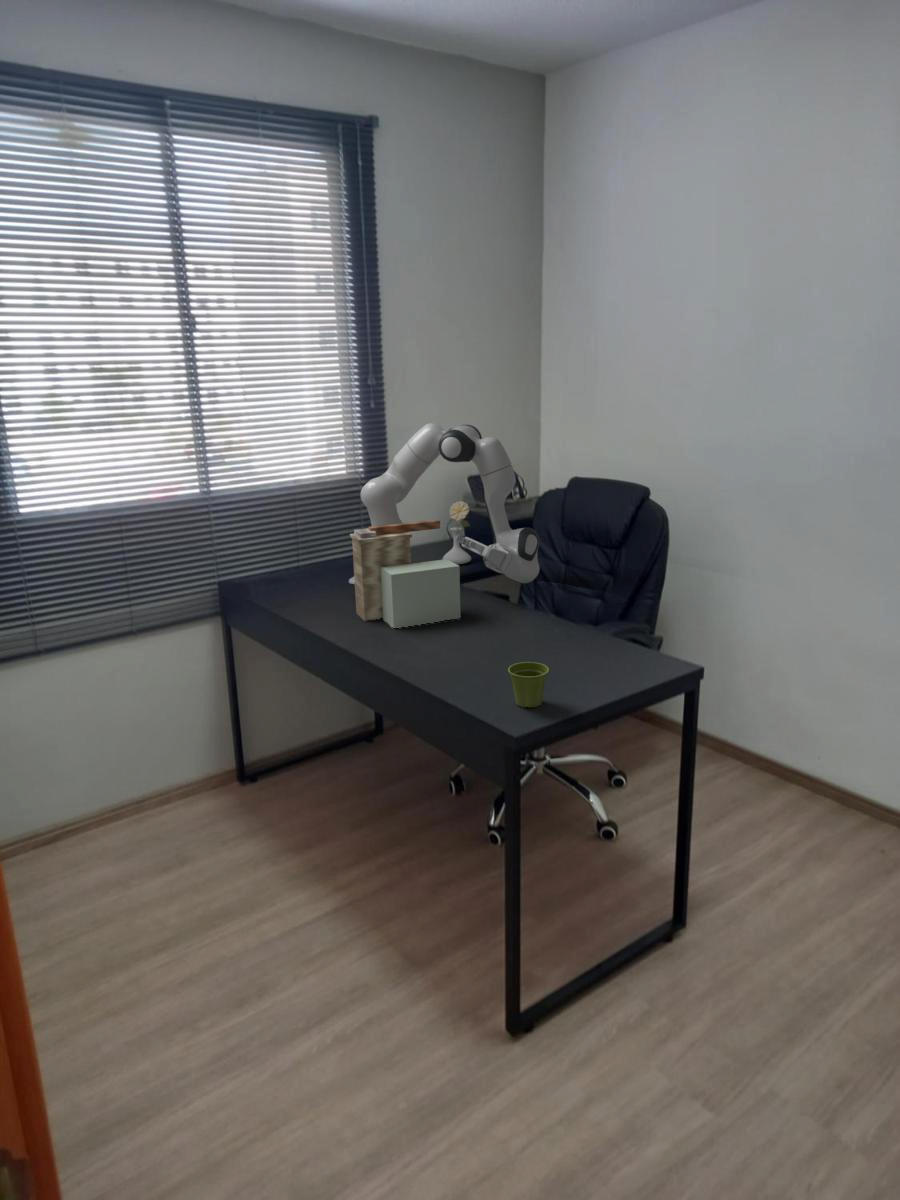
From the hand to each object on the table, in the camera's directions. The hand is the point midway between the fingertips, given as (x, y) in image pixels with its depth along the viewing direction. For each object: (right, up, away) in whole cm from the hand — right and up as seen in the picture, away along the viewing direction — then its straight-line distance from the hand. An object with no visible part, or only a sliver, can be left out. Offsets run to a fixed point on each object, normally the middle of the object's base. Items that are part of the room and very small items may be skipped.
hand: (463, 540), depth 271 cm
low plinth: (-13, -25, -11) cm, 31 cm away
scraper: (-20, +2, -9) cm, 22 cm away
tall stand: (-25, -24, -4) cm, 35 cm away
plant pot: (+14, -44, -74) cm, 88 cm away
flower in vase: (-1, -5, +57) cm, 57 cm away
